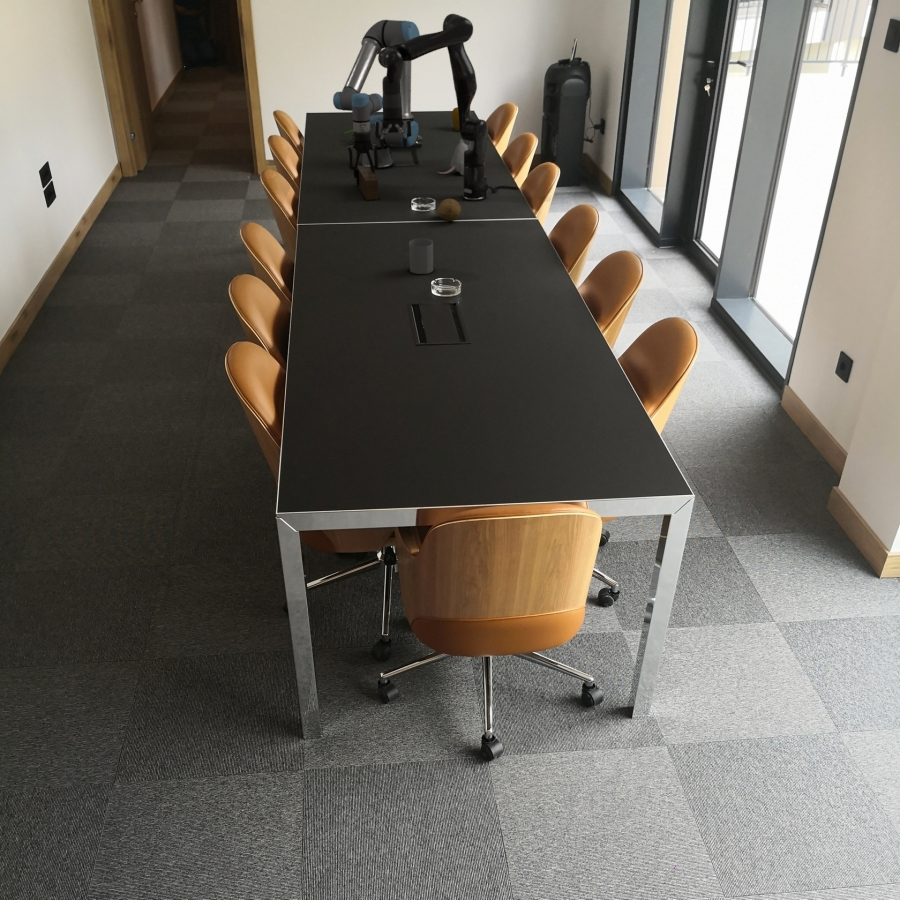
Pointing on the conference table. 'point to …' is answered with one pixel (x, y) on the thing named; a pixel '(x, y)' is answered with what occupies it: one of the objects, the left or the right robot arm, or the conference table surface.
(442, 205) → the potato
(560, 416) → the conference table surface
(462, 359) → the conference table surface
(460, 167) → the toy
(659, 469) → the conference table surface
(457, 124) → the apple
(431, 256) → the cup
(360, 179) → the bar
